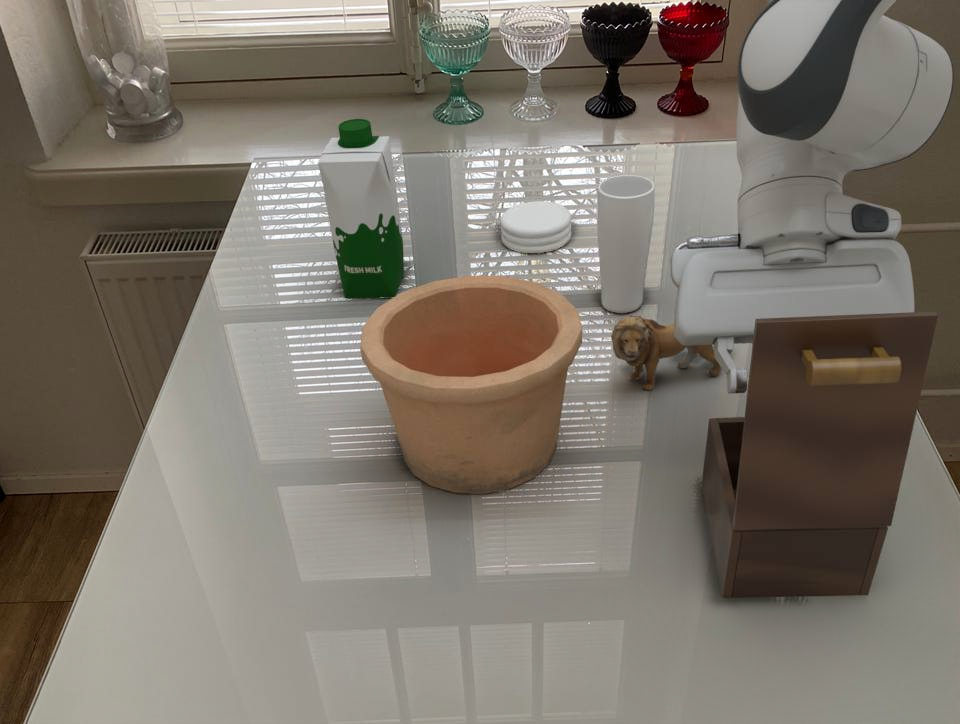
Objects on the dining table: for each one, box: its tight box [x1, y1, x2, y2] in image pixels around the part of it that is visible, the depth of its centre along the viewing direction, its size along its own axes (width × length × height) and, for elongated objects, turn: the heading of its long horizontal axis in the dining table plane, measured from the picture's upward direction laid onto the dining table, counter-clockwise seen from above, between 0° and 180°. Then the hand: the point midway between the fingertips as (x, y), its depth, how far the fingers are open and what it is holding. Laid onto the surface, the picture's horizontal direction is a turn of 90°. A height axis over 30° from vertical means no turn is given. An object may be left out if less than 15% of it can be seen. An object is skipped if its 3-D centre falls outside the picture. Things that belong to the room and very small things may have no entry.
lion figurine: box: [610, 315, 721, 392], centre depth 111 cm, size 15×5×9 cm, turn 113°
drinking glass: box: [596, 174, 655, 314], centre depth 122 cm, size 7×7×15 cm
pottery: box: [359, 275, 583, 495], centre depth 102 cm, size 22×22×14 cm
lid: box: [733, 310, 939, 530], centre depth 74 cm, size 17×13×5 cm
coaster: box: [500, 200, 572, 254], centre depth 140 cm, size 10×10×4 cm
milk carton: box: [317, 118, 405, 299], centre depth 128 cm, size 9×9×20 cm
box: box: [700, 416, 889, 599], centre depth 91 cm, size 17×13×9 cm
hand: (791, 390), depth 87 cm, fingers open, 8 cm apart
